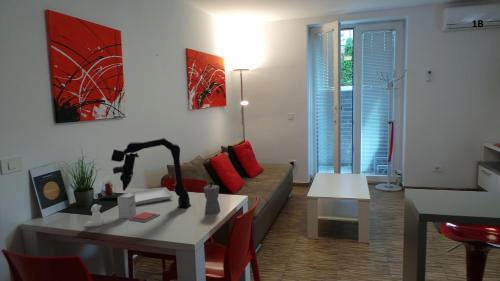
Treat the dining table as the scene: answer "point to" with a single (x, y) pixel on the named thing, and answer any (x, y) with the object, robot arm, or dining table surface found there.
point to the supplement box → (126, 205)
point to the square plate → (151, 195)
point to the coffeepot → (212, 199)
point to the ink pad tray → (144, 217)
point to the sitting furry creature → (95, 217)
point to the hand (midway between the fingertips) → (124, 188)
